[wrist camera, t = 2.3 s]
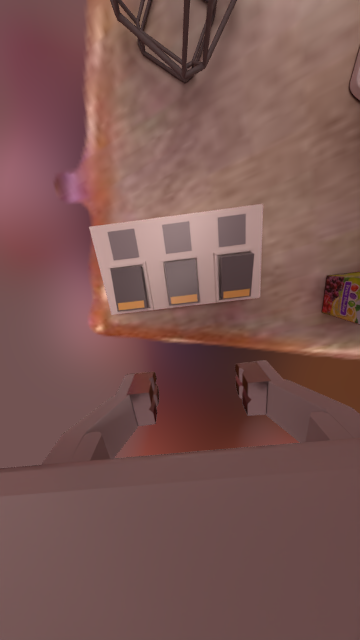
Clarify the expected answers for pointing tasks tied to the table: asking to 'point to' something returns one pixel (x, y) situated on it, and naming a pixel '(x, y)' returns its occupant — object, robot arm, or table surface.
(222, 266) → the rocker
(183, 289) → the panel
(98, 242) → the rocker switch panel
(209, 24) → the geometric lantern
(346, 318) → the snack box
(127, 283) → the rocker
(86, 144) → the table surface
